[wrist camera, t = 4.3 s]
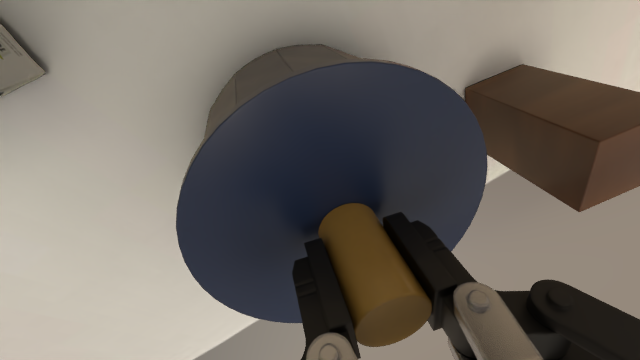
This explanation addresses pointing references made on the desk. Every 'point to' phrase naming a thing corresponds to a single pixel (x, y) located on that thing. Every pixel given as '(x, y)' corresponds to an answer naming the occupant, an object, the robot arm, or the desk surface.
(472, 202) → the tin lid
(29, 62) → the tea box
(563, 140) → the block
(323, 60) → the tin
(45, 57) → the desk surface
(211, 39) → the desk surface
